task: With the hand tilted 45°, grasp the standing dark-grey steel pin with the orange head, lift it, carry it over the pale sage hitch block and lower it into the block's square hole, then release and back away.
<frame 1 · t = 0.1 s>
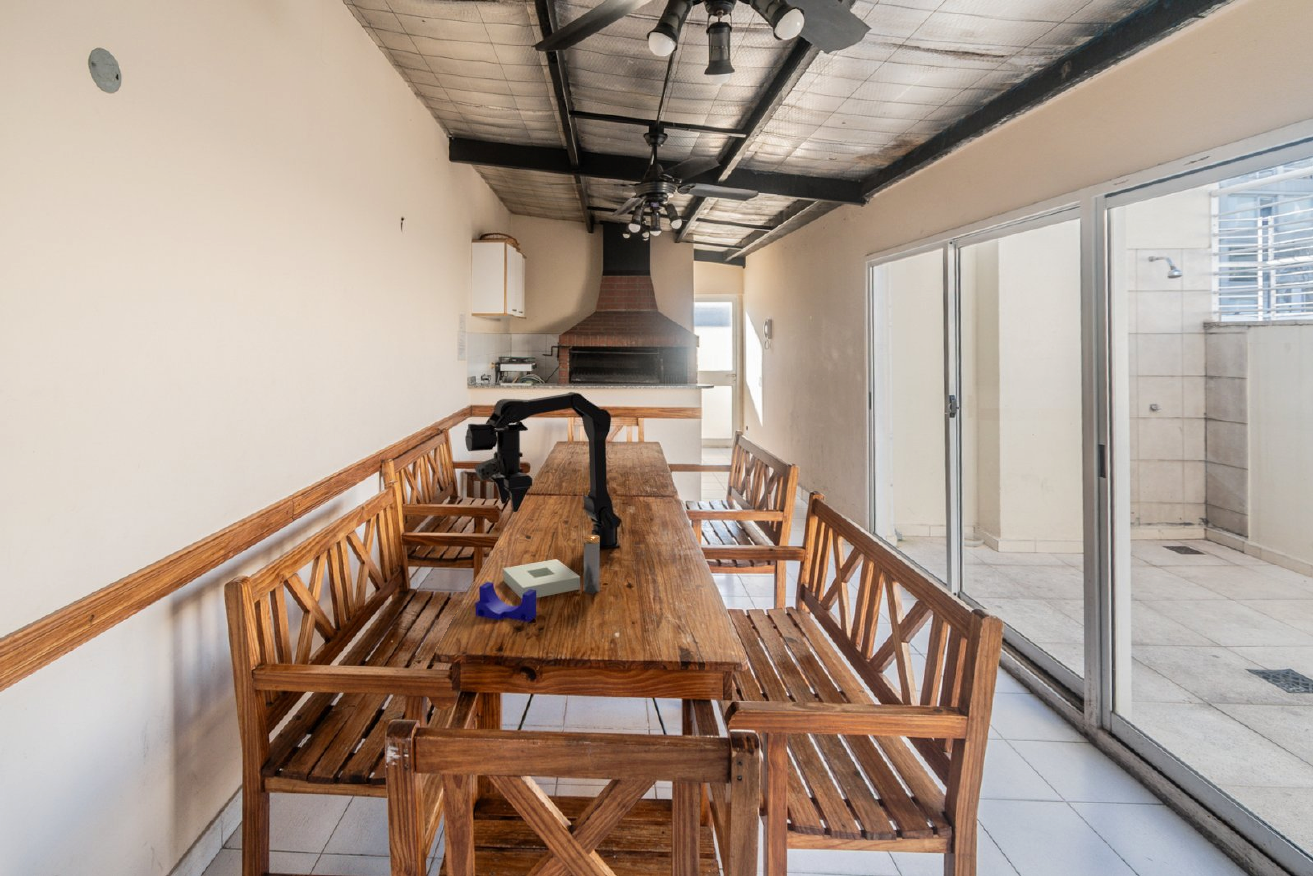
hand: (509, 507, 165), 15 cm above the table, tool pointing down, fingers open, 9 cm apart
blue cradle bracket: (506, 617, 135), on the table
steel pin: (591, 590, 149), on the table
hitch block: (540, 584, 152), on the table
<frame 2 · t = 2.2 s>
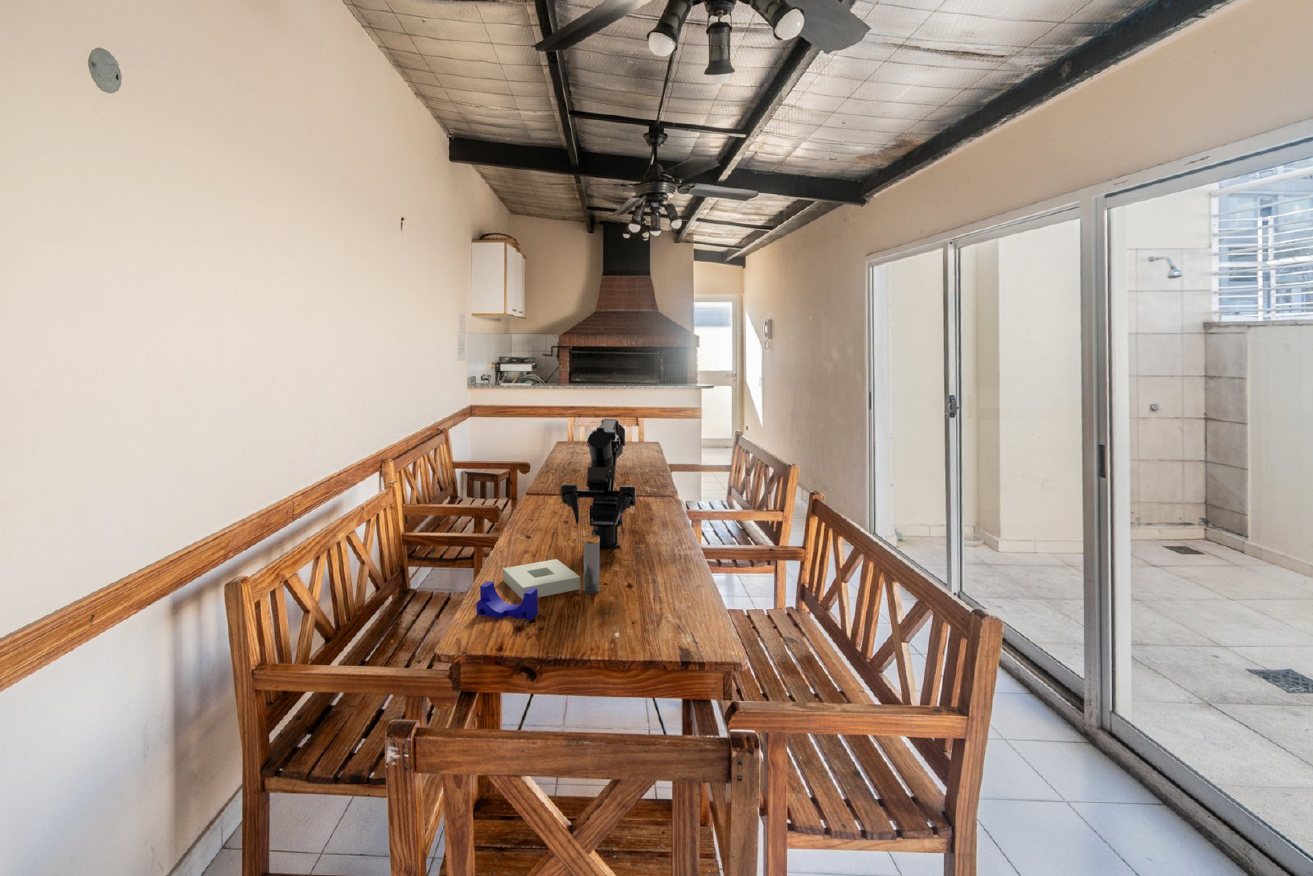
hand: (595, 524, 156), 13 cm above the table, tool tilted 45°, fingers open, 9 cm apart
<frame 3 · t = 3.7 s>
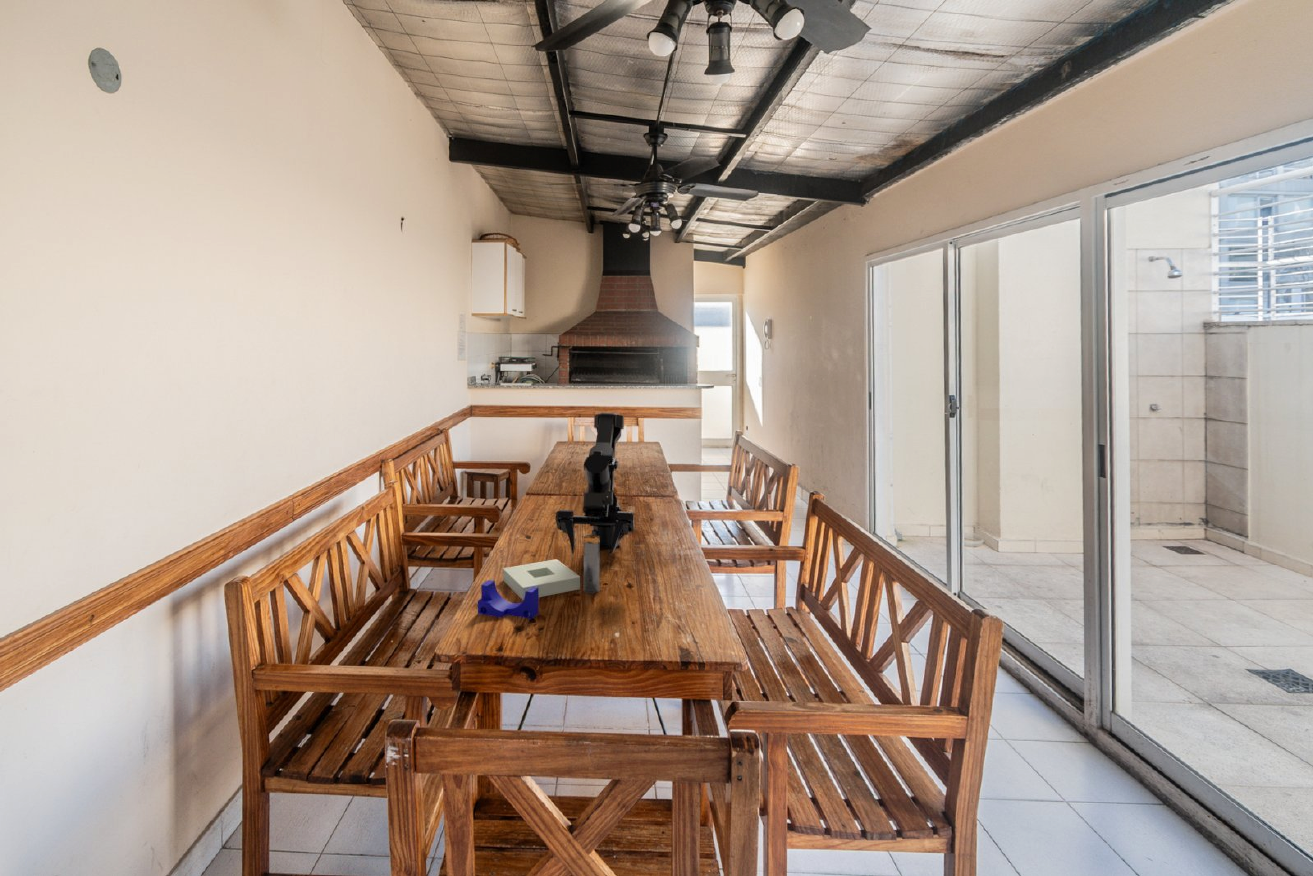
hand: (592, 552, 149), 9 cm above the table, tool tilted 45°, fingers open, 9 cm apart
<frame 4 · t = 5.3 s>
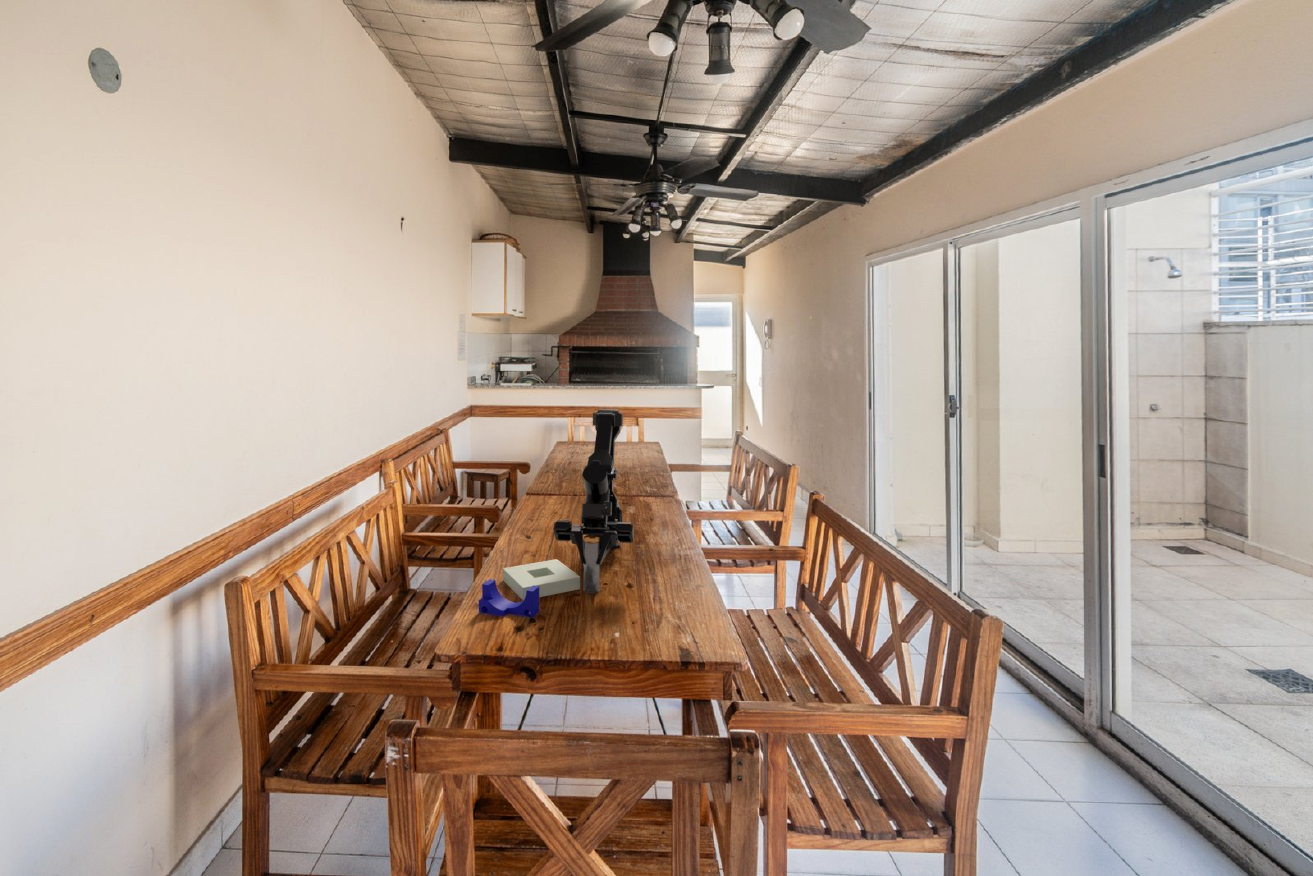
hand: (590, 564, 147), 7 cm above the table, tool tilted 45°, fingers closed on steel pin, 4 cm apart
steel pin: (591, 590, 149), on the table, touching gripper
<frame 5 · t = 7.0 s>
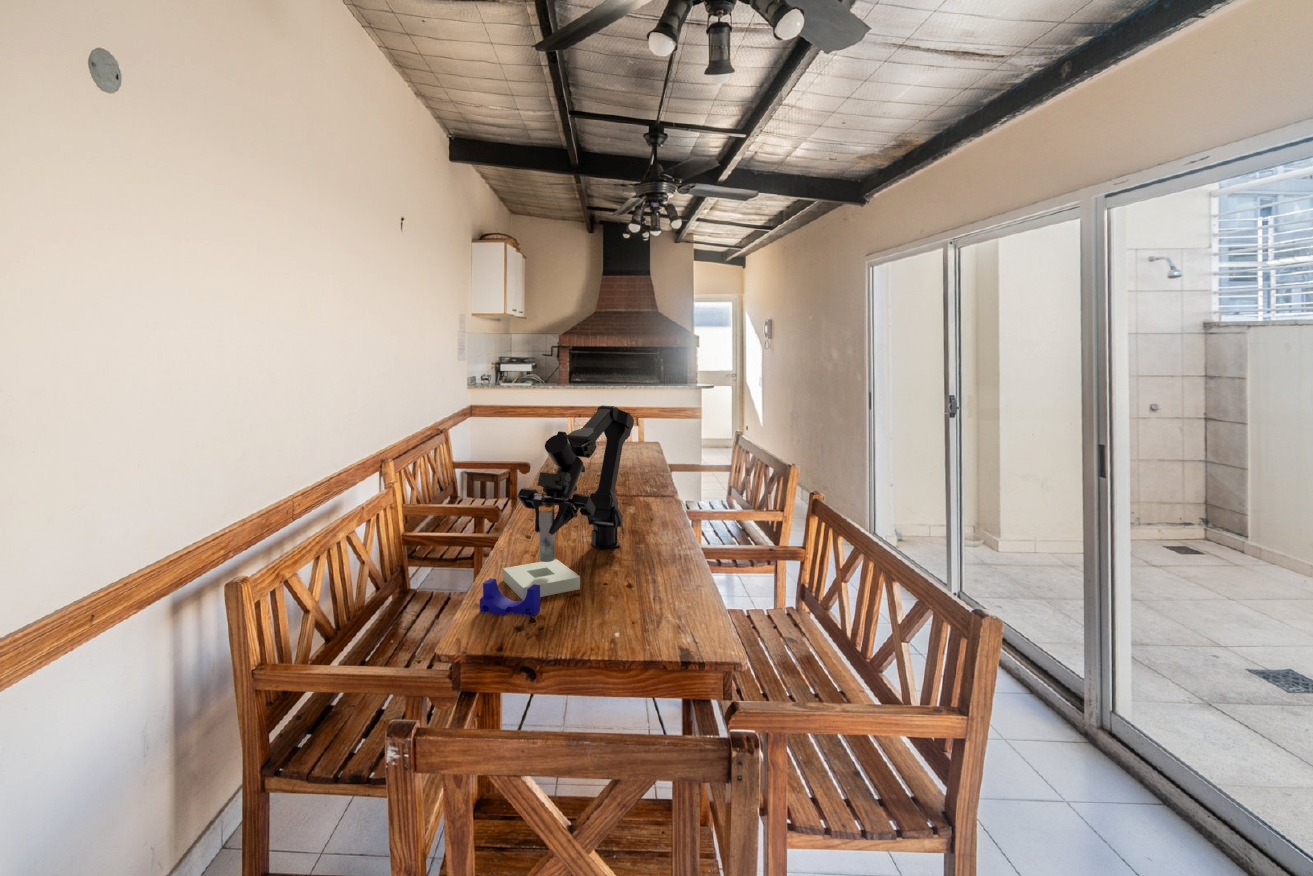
hand: (543, 532, 148), 13 cm above the table, tool tilted 45°, fingers closed on steel pin, 4 cm apart
steel pin: (547, 559, 151), point 7 cm above the table, touching gripper
when the fingers open (8 cm above the table, at t = 8.7 s): steel pin drops 1 cm, resting in hitch block.
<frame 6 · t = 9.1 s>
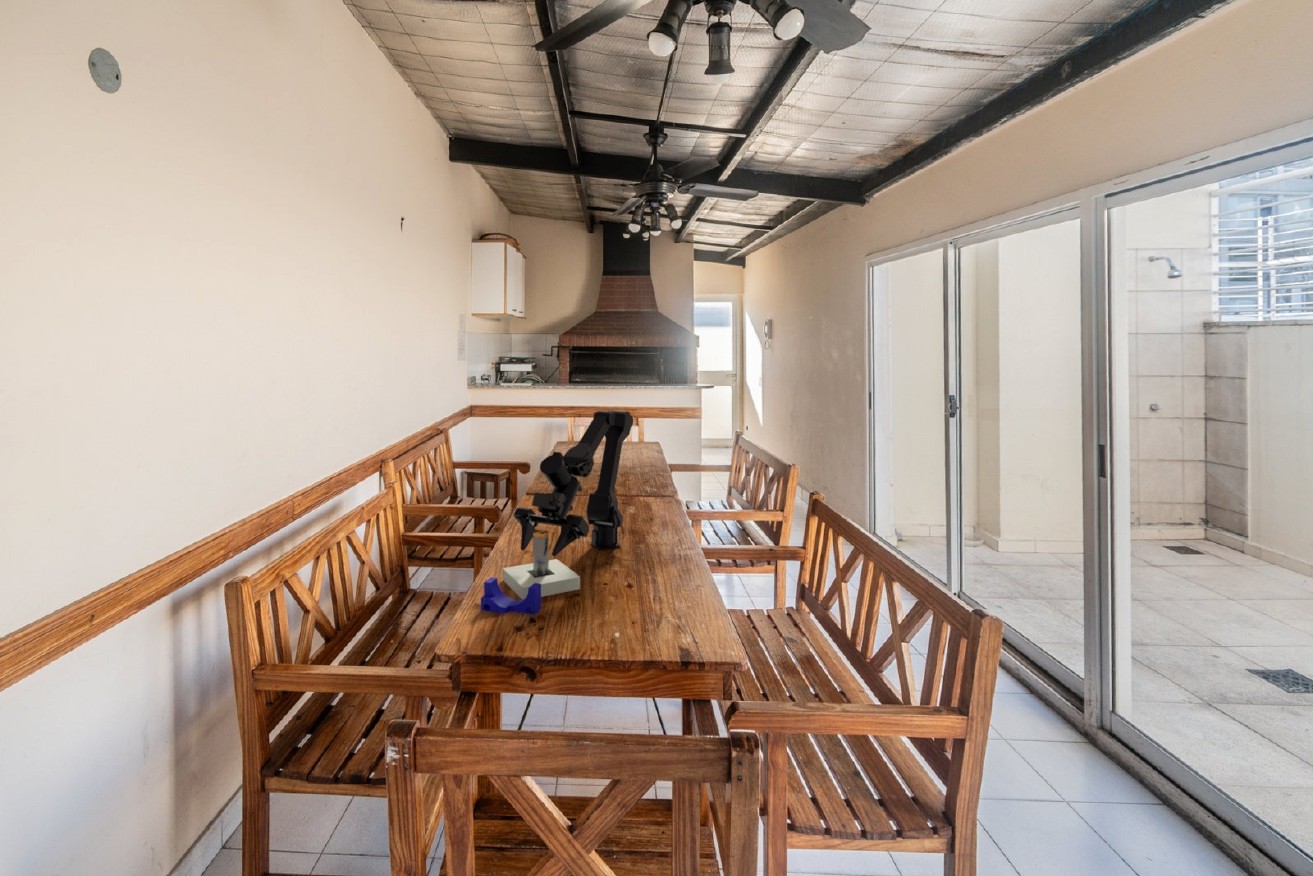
hand: (537, 552, 150), 8 cm above the table, tool tilted 45°, fingers open, 8 cm apart
steel pin: (541, 584, 152), resting in hitch block
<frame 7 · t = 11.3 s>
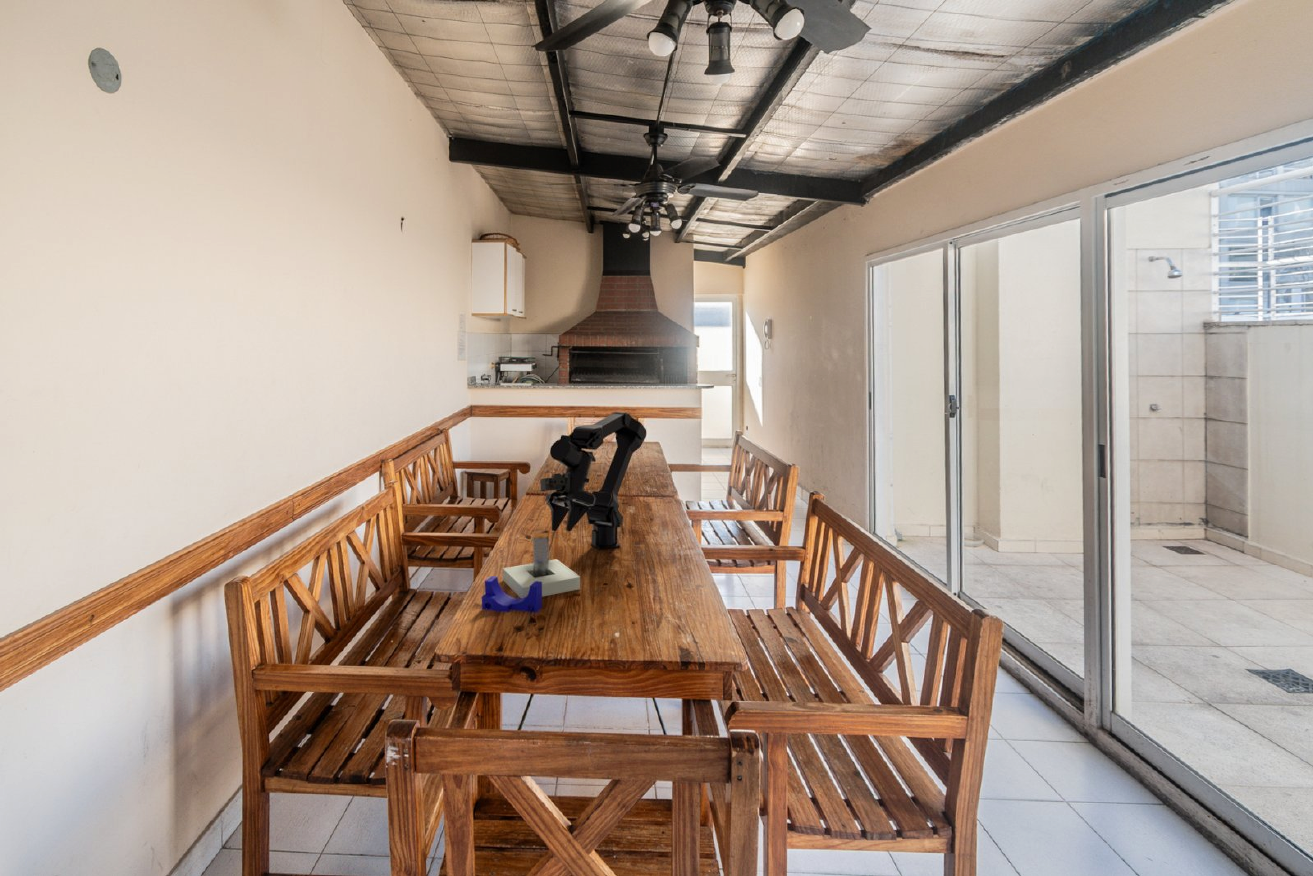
hand: (560, 531, 161), 10 cm above the table, tool tilted 30°, fingers open, 9 cm apart
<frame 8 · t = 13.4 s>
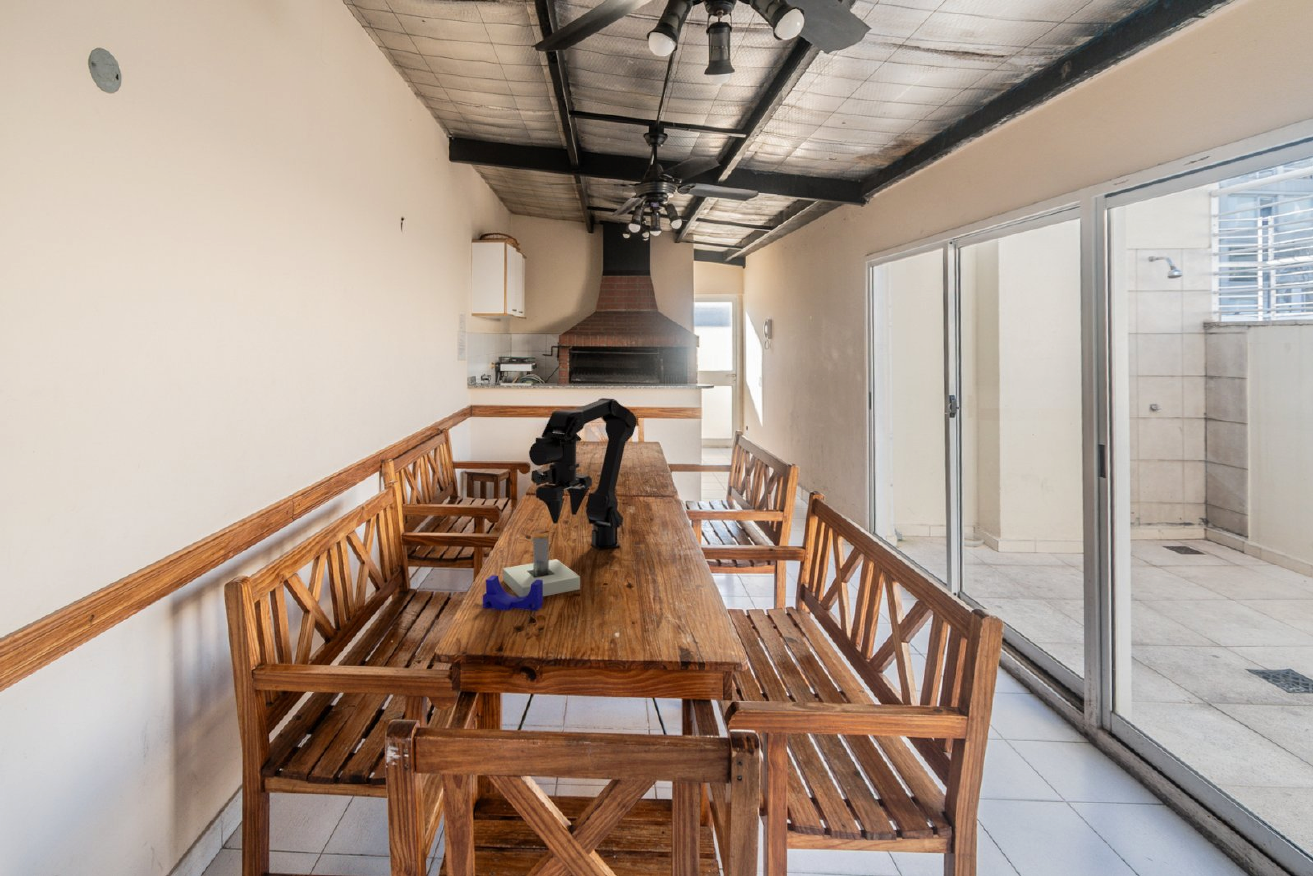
hand: (564, 518, 165), 12 cm above the table, tool pointing down, fingers open, 9 cm apart
at the end: steel pin 0.1 cm off-centre on the hitch block, point 0.0 cm above the hitch block's base; steel pin tilted 0°; the gripper is holding nothing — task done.
